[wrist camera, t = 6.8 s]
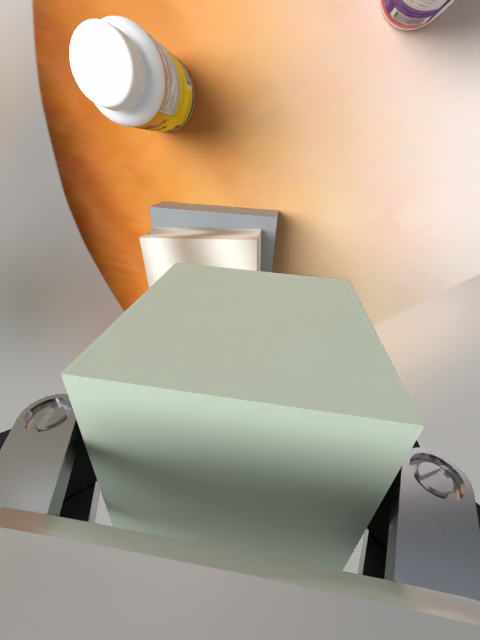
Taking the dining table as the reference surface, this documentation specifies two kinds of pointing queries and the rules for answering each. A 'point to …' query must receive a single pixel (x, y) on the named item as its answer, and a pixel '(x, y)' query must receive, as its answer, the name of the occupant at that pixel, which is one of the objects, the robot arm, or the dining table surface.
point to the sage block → (244, 413)
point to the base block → (220, 222)
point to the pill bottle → (412, 12)
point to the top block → (200, 249)
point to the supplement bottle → (131, 75)
